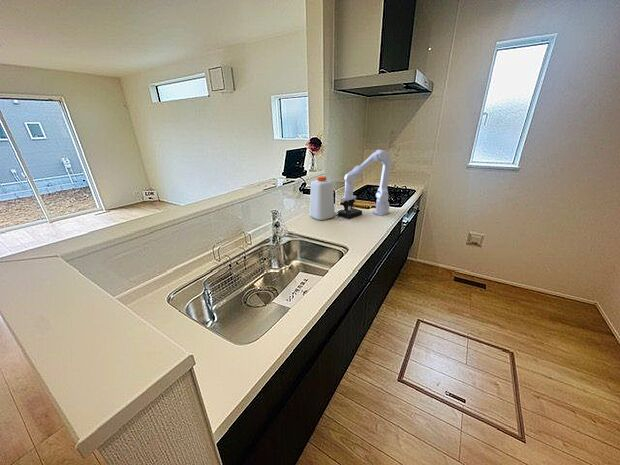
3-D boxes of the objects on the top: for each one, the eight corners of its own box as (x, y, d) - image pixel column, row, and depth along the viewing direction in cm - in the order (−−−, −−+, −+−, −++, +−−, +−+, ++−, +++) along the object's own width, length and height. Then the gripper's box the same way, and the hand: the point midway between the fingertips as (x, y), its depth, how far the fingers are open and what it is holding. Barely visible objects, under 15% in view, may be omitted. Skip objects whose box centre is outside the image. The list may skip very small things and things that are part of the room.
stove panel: (351, 211, 187) (351, 207, 186) (361, 214, 180) (362, 210, 179) (337, 215, 180) (338, 211, 178) (348, 219, 172) (348, 214, 171)
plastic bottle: (337, 217, 177) (337, 177, 165) (319, 221, 169) (319, 180, 158) (324, 211, 188) (323, 174, 177) (307, 215, 180) (306, 176, 169)
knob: (347, 209, 181) (347, 203, 180) (352, 210, 179) (352, 205, 177) (344, 211, 179) (344, 205, 177) (348, 212, 176) (348, 206, 174)
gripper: (351, 188, 180) (350, 206, 186) (337, 192, 171) (337, 211, 177) (358, 190, 176) (357, 208, 181) (345, 194, 167) (344, 213, 172)
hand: (348, 210), depth 179 cm, fingers closed on knob, 4 cm apart
